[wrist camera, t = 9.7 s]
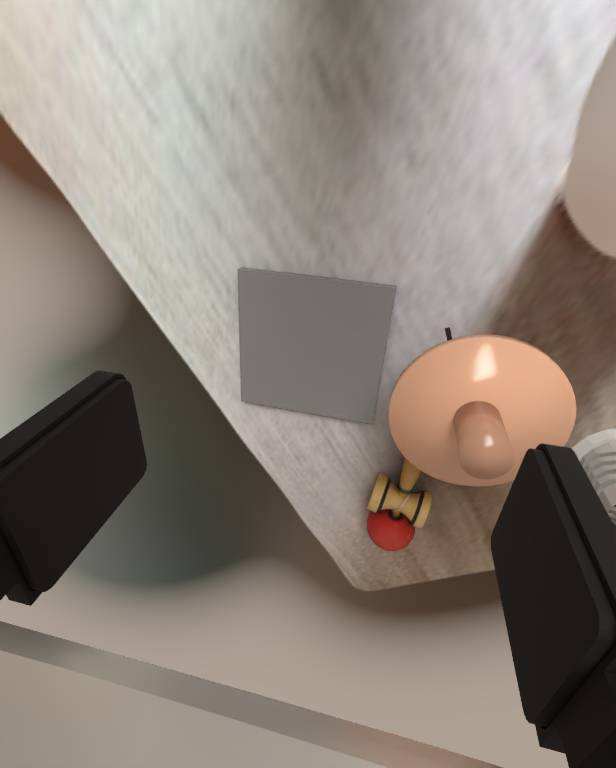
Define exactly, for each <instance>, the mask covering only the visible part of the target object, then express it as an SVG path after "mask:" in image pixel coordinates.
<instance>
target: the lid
mask: <svg viewBox="0 0 616 768" xmlns="http://www.w3.org/2000/svg"><path fill="white" fill-rule="evenodd" d="M575 418H576V401H575V395H574V392H573V389H572V386H571V384H570V383H569V381H568V379H567V377H566V376H565V374H564V373H563V371H562V370H561V369H560V367H559V366H558V365H557V364H556V362H555V361H554V360H553V359H551V358H550V357H549V356H548V355H547V354H546V353H544V352H543V351H541V350H540V349H538V348H537V347H535V346H533V345H531V344H529V343H527V342H524V341H521V340H518V339H515V338H511V337H506V336H501V335H488V334H485V335H470V336H464V337H459V338H455V339H452V340H448V341H446V342H443V343H441V344H438V345H436V346H434V347H432V348H430V349H429V350H427V351H425V352H424V353H422V354H421V355H420V356H418V357H417V358H416V359H415V360H413V361H412V362H411V363H410V364H409V365H408V366H407V367H406V369H405V370H404V371H403V372H402V374H401V375H400V377H399V378H398V380H397V382H396V384H395V386H394V388H393V391H392V394H391V398H390V405H389V426H390V431H391V434H392V437H393V440H394V442H395V444H396V446H397V447H398V449H399V450H400V452H401V453H402V454H403V456H404V457H405V458H406V459H407V460H408V461H409V462H410V463H411V464H413V465H414V466H415V467H416V468H418V469H419V470H421V471H422V472H424V473H426V474H428V475H430V476H432V477H434V478H436V479H439V480H442V481H445V482H448V483H453V484H457V485H464V486H492V485H499V484H503V483H508V482H512V481H514V480H515V477H516V475H517V472H518V470H519V468H520V465H521V463H522V461H523V458H524V456H525V453H526V452H527V450H528V449H530V448H532V449H536V447H537V446H538V445H539V444H542V443H543V444H549V445H555V446H561V447H564V445H565V444H566V442H567V440H568V439H569V437H570V435H571V432H572V430H573V427H574V423H575Z"/></svg>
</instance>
